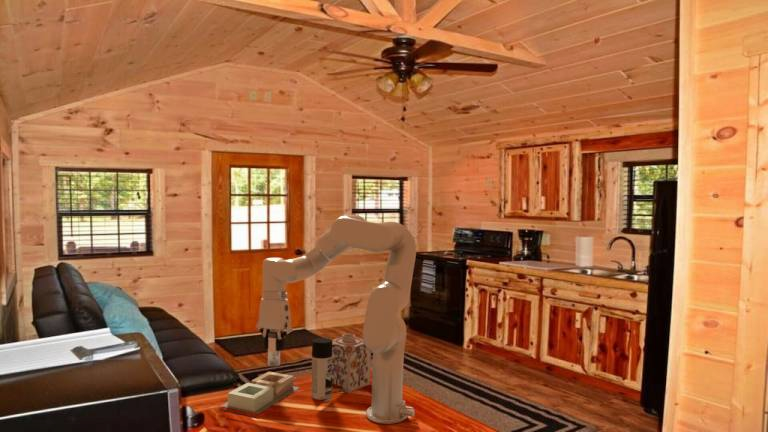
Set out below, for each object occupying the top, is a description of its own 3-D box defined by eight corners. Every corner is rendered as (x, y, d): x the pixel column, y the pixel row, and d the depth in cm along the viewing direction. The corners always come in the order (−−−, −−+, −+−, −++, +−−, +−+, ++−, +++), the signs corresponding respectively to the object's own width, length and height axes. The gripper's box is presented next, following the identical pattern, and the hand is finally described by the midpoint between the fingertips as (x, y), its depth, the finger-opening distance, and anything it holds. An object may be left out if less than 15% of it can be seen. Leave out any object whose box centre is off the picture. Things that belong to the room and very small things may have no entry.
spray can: (328, 405, 174) (329, 343, 173) (308, 402, 175) (309, 342, 174) (334, 397, 181) (335, 338, 180) (314, 395, 182) (315, 336, 181)
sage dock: (273, 399, 173) (273, 387, 173) (254, 411, 164) (254, 398, 164) (247, 394, 177) (247, 382, 177) (227, 405, 168) (227, 393, 168)
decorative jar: (324, 385, 191) (325, 335, 190) (347, 376, 200) (348, 329, 199) (348, 394, 184) (350, 342, 183) (371, 385, 193) (372, 335, 192)
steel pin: (282, 363, 182) (282, 331, 182) (275, 366, 178) (275, 334, 178) (272, 361, 184) (272, 329, 183) (265, 365, 180) (265, 332, 179)
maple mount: (293, 387, 184) (293, 375, 184) (276, 397, 175) (276, 385, 175) (268, 382, 188) (268, 371, 188) (251, 392, 179) (251, 380, 179)
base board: (299, 391, 185) (299, 387, 184) (258, 418, 162) (258, 414, 162) (265, 385, 190) (265, 380, 190) (220, 410, 168) (220, 405, 168)
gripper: (301, 295, 180) (301, 349, 181) (259, 291, 186) (259, 343, 187) (289, 299, 173) (289, 355, 174) (246, 294, 180) (246, 349, 180)
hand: (274, 348), depth 181 cm, fingers closed on steel pin, 4 cm apart
